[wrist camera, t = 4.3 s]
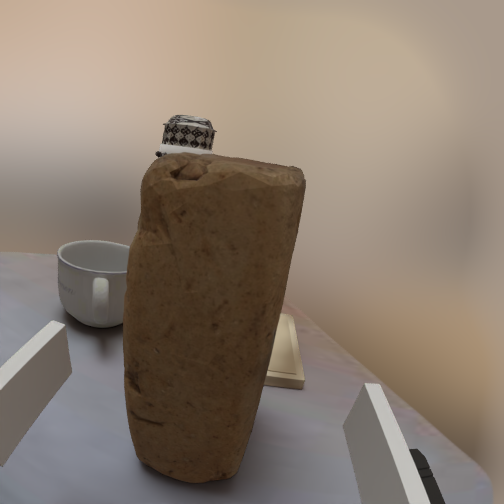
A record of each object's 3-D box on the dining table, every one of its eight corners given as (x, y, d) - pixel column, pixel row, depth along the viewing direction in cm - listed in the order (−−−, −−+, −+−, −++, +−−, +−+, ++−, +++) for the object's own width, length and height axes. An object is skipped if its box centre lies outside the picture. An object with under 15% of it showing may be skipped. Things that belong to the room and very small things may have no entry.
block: (228, 504, 15) (319, 169, 10) (122, 467, 16) (116, 138, 11) (256, 406, 25) (314, 171, 20) (177, 383, 26) (206, 151, 21)
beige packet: (160, 365, 28) (161, 354, 28) (188, 304, 42) (189, 296, 41) (301, 389, 29) (305, 379, 28) (290, 322, 42) (292, 314, 42)
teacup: (73, 290, 38) (73, 234, 36) (148, 299, 41) (152, 242, 39) (40, 348, 25) (30, 275, 23) (140, 362, 28) (142, 289, 26)
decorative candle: (202, 290, 47) (230, 121, 40) (141, 287, 43) (163, 109, 37) (192, 268, 55) (215, 124, 48) (140, 265, 52) (159, 116, 45)
